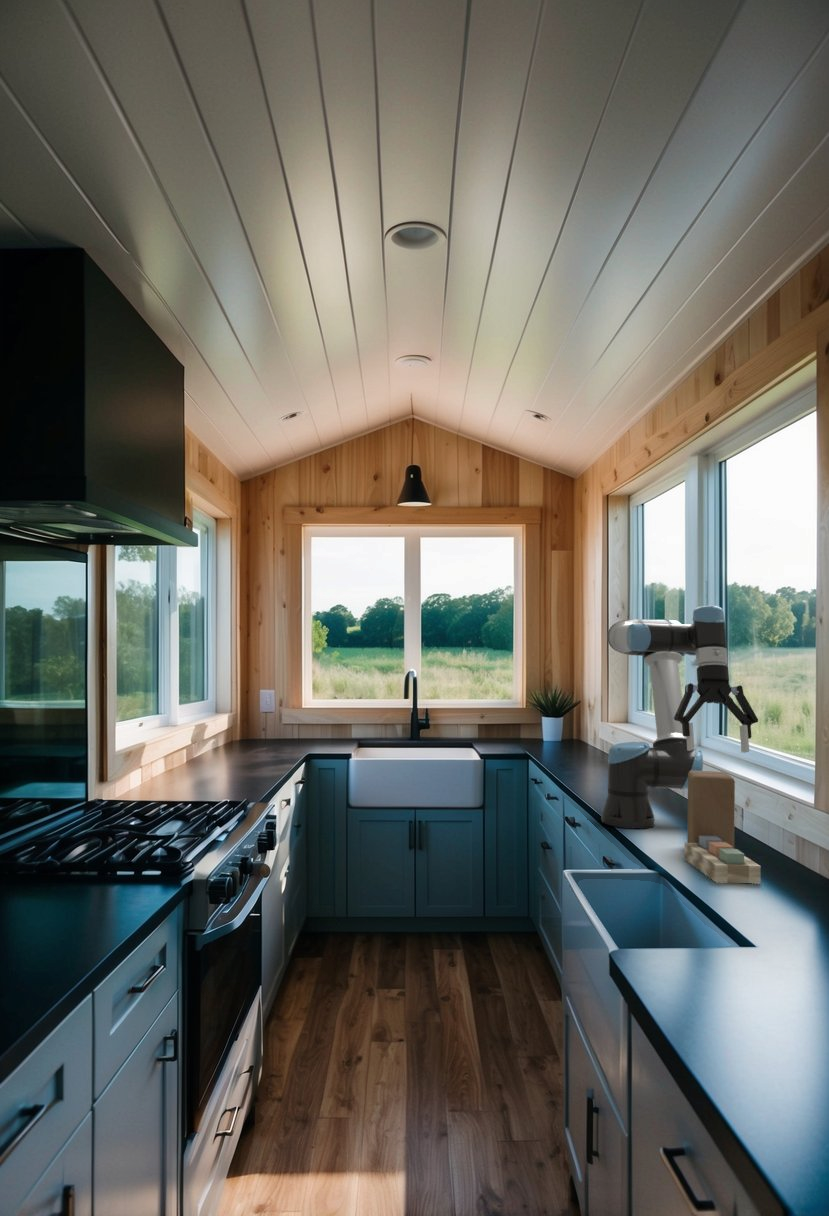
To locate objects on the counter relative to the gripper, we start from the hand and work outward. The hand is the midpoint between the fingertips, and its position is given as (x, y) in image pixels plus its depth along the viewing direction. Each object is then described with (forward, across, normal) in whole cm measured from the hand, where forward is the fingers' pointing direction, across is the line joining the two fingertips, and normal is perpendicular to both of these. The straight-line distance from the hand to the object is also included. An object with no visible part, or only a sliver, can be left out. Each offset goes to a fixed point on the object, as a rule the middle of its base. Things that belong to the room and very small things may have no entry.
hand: (718, 751), depth 192 cm
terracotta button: (+26, -2, -2) cm, 26 cm away
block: (+24, +2, +14) cm, 28 cm away
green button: (+27, -2, -8) cm, 29 cm away
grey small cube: (+24, -2, +4) cm, 25 cm away
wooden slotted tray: (+28, -2, -2) cm, 28 cm away
